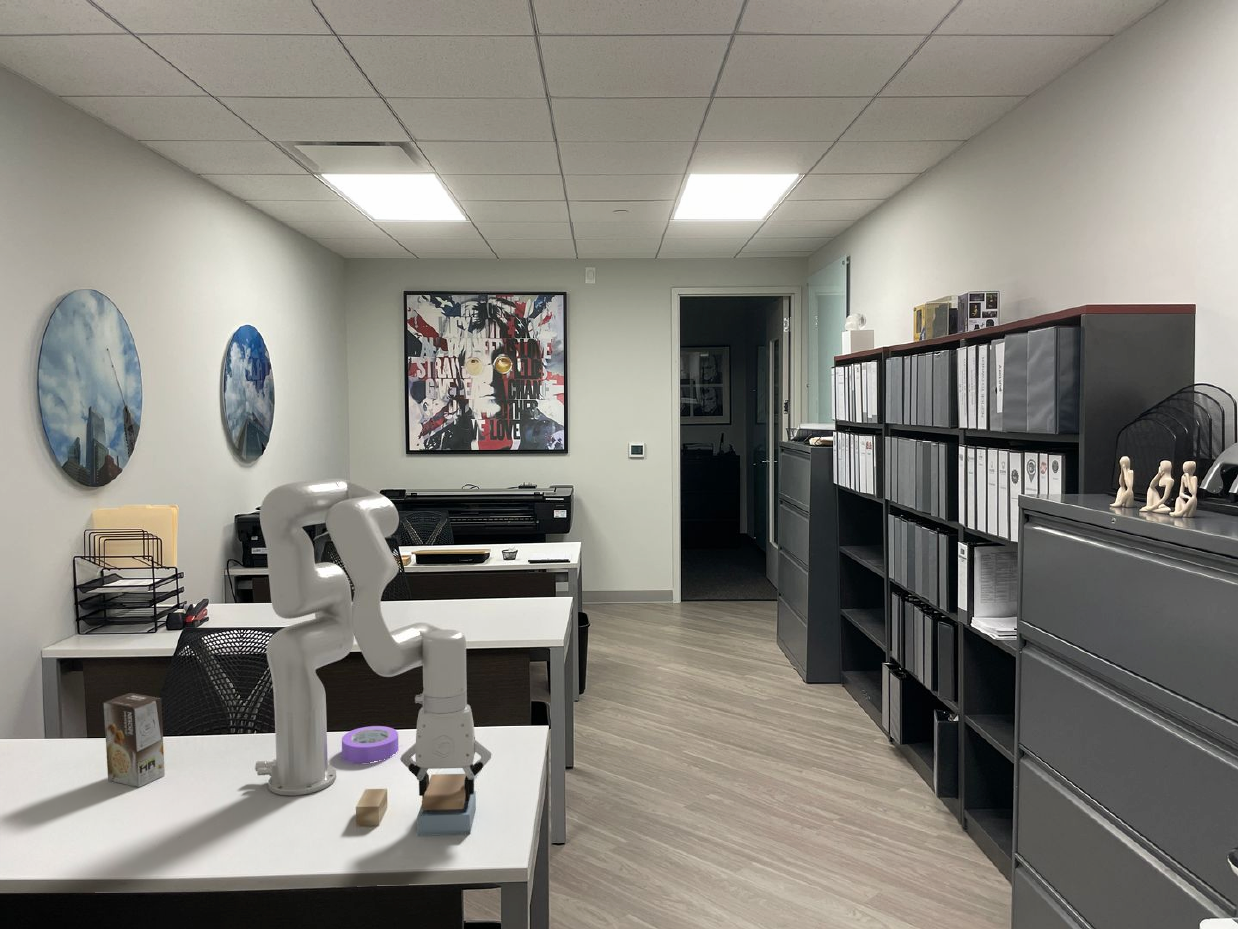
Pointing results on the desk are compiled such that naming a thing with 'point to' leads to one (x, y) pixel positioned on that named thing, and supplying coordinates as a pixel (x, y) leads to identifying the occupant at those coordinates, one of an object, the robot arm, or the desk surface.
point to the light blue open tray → (447, 819)
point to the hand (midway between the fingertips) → (446, 797)
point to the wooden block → (371, 807)
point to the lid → (445, 792)
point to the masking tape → (369, 744)
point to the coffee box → (134, 739)
